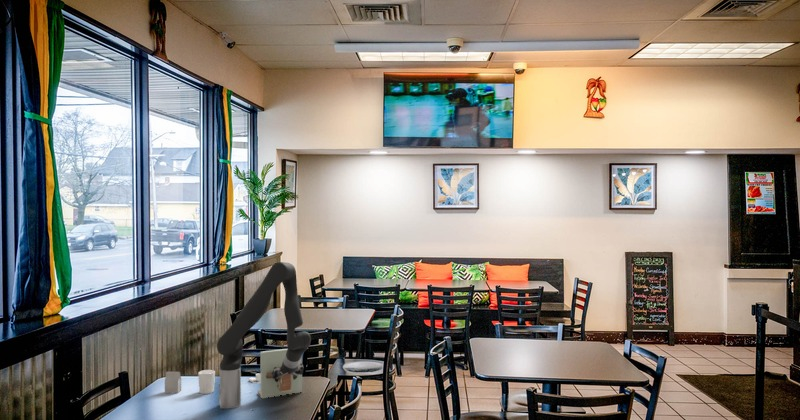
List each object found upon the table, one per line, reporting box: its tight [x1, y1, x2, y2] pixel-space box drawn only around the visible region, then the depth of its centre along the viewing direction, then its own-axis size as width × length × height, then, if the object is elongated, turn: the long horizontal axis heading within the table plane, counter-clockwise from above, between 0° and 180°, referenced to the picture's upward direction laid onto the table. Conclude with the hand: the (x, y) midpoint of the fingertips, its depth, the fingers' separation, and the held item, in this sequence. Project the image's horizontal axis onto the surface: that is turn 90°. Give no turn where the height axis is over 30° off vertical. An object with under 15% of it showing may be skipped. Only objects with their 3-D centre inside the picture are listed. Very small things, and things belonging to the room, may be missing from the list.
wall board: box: [257, 348, 303, 399], centre depth 276 cm, size 11×20×22 cm, turn 117°
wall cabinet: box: [277, 367, 292, 393], centre depth 269 cm, size 9×5×10 cm, turn 27°
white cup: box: [198, 369, 216, 395], centre depth 279 cm, size 8×8×10 cm
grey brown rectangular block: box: [164, 371, 182, 394], centre depth 280 cm, size 4×7×10 cm, turn 87°
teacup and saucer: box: [248, 372, 261, 384], centre depth 298 cm, size 9×8×4 cm
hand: (285, 379), depth 268 cm, fingers open, 8 cm apart
